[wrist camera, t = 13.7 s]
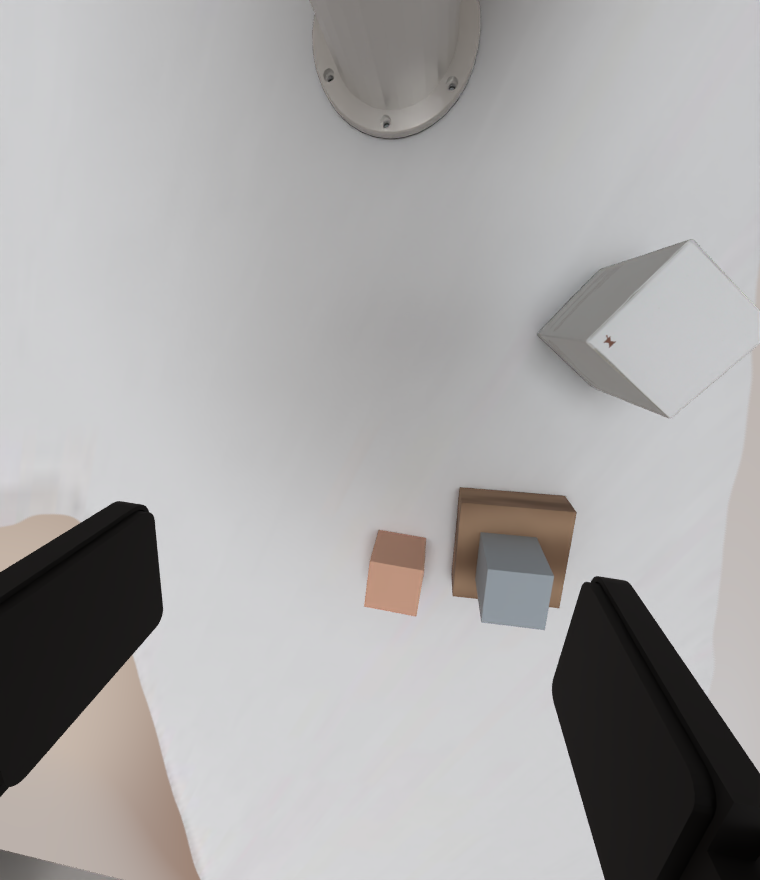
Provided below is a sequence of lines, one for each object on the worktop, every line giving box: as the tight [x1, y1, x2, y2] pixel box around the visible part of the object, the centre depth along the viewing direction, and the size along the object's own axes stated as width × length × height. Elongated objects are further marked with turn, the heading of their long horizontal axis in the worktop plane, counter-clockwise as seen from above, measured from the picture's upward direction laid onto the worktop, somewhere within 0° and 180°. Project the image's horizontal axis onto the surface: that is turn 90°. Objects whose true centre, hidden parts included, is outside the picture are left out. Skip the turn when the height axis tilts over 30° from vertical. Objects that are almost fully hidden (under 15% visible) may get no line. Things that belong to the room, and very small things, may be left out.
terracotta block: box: [364, 530, 426, 616], centre depth 41 cm, size 5×5×6 cm
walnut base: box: [452, 487, 577, 608], centre depth 40 cm, size 10×10×4 cm
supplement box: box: [537, 239, 760, 418], centre depth 29 cm, size 7×7×13 cm
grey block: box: [475, 532, 554, 630], centre depth 36 cm, size 5×5×6 cm
